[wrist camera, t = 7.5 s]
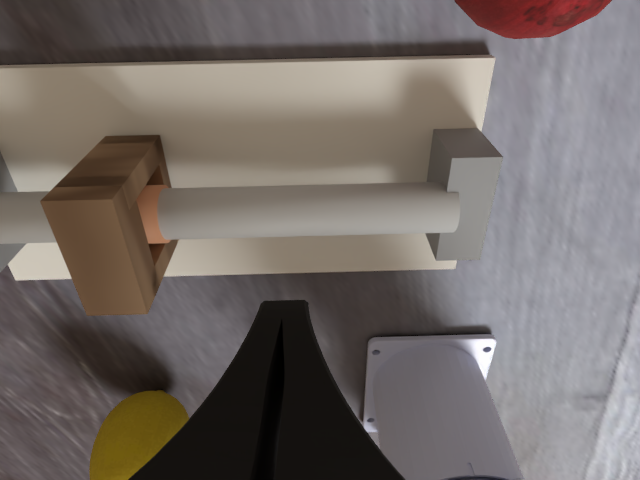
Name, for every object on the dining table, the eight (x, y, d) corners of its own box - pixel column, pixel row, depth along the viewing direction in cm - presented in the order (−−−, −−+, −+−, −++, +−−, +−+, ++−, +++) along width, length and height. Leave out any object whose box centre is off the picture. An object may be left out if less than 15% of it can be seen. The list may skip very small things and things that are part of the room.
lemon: (130, 417, 33) (85, 540, 26) (109, 365, 30) (51, 490, 23) (207, 415, 33) (181, 537, 26) (194, 363, 30) (161, 487, 23)
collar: (159, 134, 20) (111, 199, 15) (181, 233, 23) (147, 313, 18) (105, 135, 20) (39, 201, 15) (134, 234, 23) (87, 315, 18)
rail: (490, 54, 19) (534, 83, 15) (452, 262, 25) (477, 319, 22) (-80, 66, 19) (-176, 99, 15) (21, 273, 25) (-30, 333, 21)
